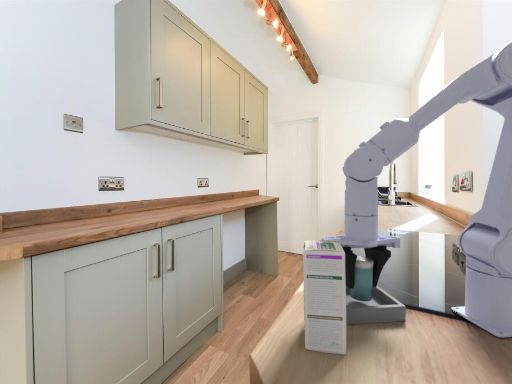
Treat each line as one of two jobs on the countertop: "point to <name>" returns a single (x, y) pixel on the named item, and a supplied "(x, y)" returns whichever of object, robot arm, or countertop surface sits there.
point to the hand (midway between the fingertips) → (360, 285)
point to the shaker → (362, 279)
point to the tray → (374, 308)
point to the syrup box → (324, 296)
